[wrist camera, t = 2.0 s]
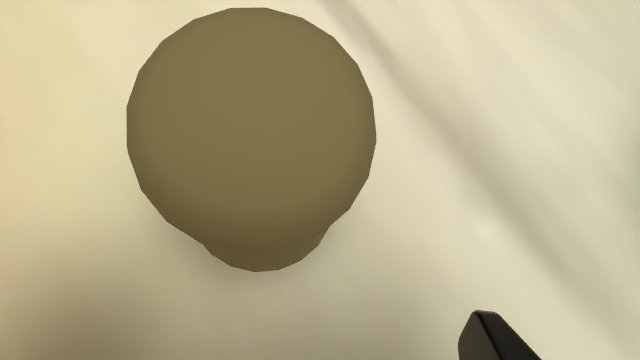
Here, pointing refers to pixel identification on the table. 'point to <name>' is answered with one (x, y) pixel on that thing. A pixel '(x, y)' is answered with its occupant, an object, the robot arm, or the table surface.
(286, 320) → the table surface
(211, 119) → the olive pawn
